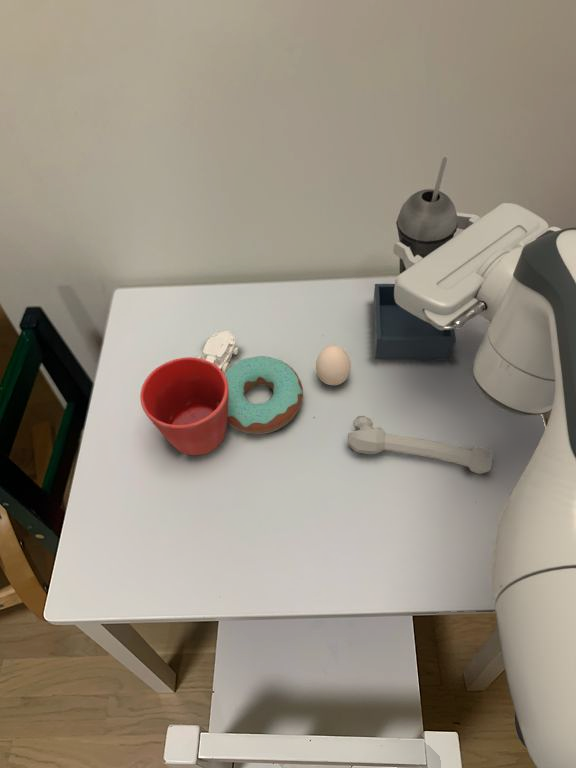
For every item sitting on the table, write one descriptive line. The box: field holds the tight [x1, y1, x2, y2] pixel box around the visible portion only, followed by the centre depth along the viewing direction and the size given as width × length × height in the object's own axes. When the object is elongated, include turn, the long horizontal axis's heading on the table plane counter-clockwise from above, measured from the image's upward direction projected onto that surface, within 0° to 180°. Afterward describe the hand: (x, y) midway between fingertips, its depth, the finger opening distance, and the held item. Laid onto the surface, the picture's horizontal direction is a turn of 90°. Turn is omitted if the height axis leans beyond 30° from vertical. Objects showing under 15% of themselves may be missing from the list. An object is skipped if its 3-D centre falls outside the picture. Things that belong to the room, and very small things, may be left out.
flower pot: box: [139, 356, 229, 456], centre depth 77 cm, size 11×11×10 cm
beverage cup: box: [395, 156, 458, 275], centre depth 73 cm, size 7×7×20 cm
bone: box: [347, 415, 494, 475], centre depth 75 cm, size 18×5×4 cm, turn 71°
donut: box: [217, 355, 304, 435], centre depth 81 cm, size 12×12×4 cm
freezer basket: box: [372, 283, 457, 361], centre depth 86 cm, size 11×11×5 cm
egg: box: [315, 344, 352, 386], centre depth 81 cm, size 5×5×7 cm
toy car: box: [196, 330, 239, 373], centre depth 86 cm, size 5×8×4 cm, turn 162°
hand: (420, 229), depth 73 cm, fingers closed on beverage cup, 6 cm apart
